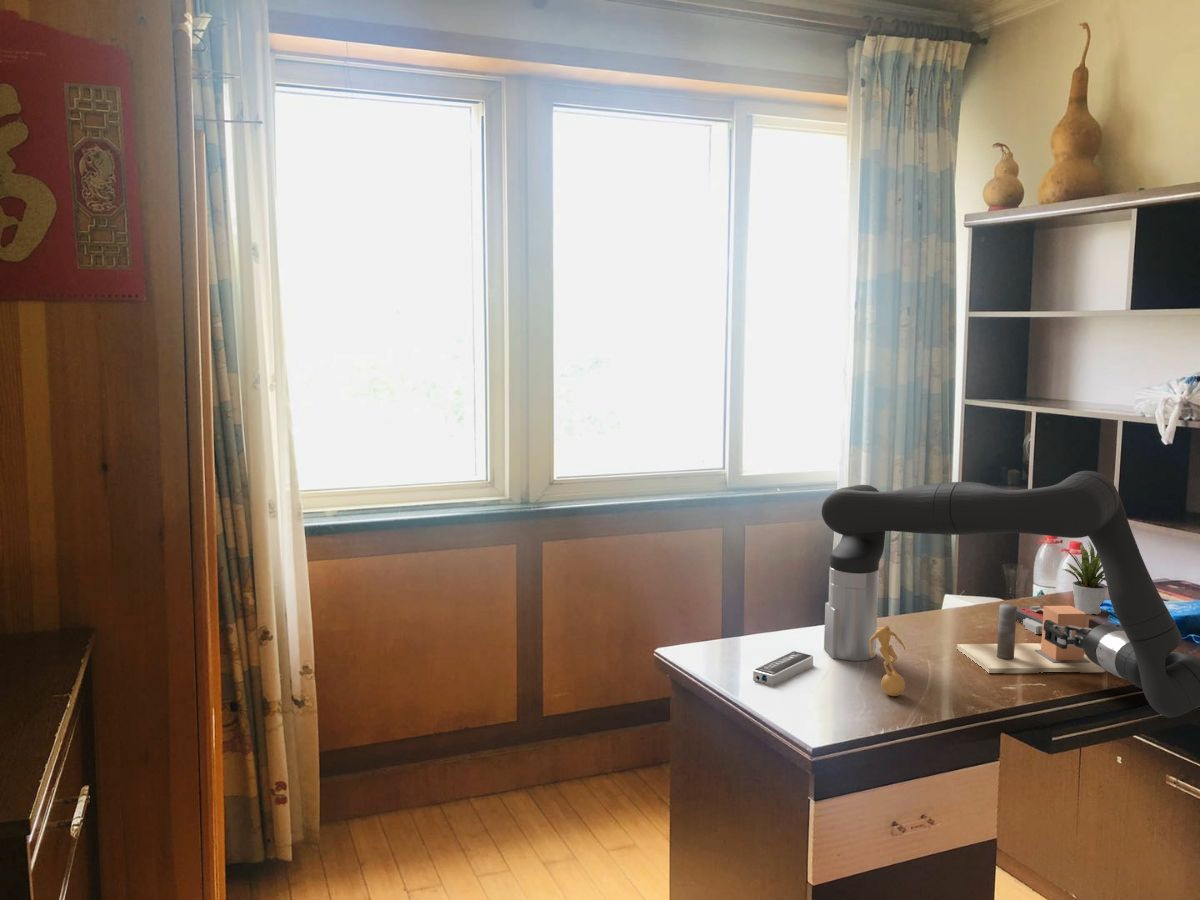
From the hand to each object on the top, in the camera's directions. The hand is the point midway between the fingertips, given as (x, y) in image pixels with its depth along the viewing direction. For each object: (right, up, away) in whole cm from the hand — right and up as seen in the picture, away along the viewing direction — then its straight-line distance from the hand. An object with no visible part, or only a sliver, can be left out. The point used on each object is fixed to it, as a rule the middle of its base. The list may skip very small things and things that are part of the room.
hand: (1068, 624), depth 179 cm
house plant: (+23, -4, +35) cm, 42 cm away
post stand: (-6, -7, +3) cm, 10 cm away
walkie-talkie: (+6, -6, +22) cm, 24 cm away
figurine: (-39, -10, -14) cm, 42 cm away
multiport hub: (-55, -9, -4) cm, 55 cm away
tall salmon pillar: (0, -6, +2) cm, 7 cm away
